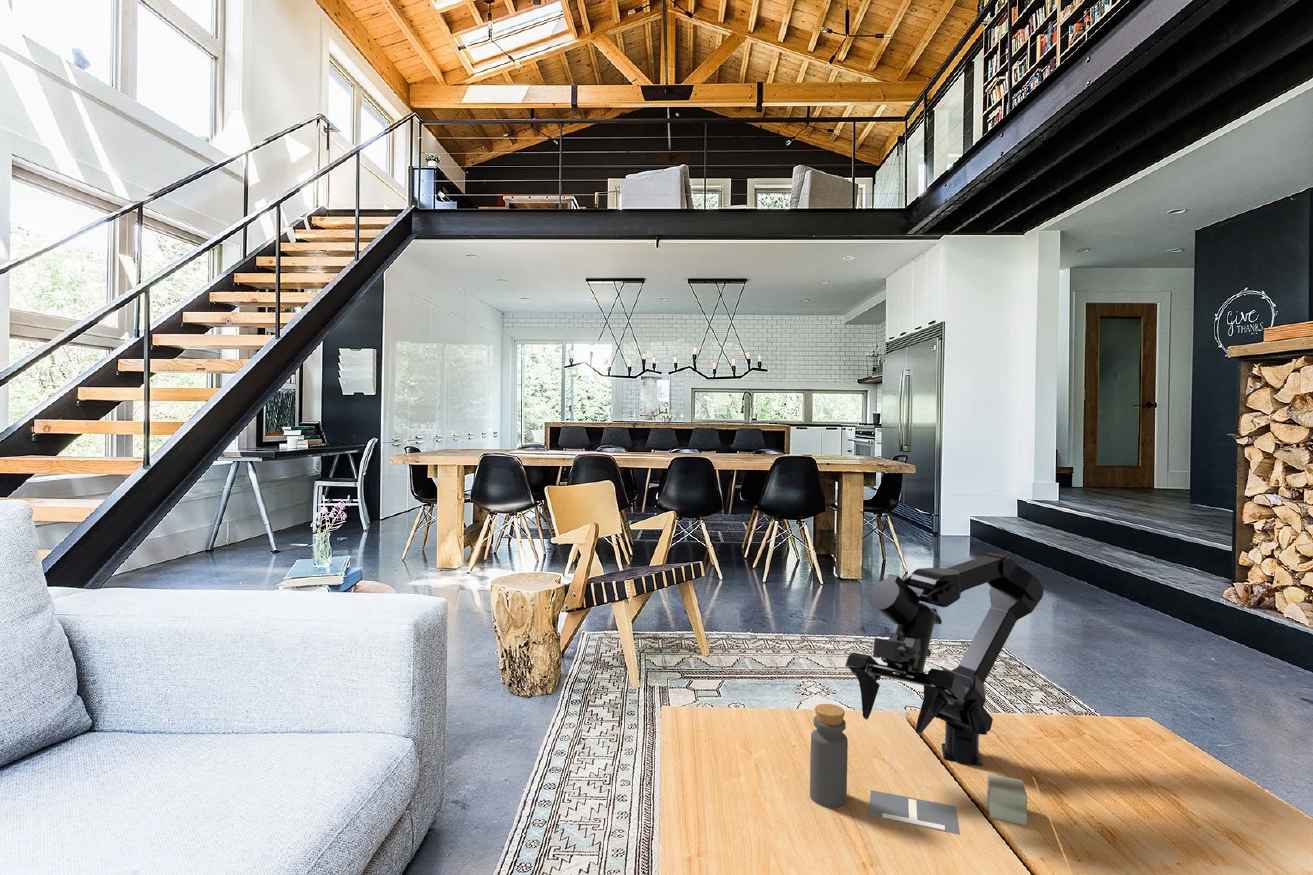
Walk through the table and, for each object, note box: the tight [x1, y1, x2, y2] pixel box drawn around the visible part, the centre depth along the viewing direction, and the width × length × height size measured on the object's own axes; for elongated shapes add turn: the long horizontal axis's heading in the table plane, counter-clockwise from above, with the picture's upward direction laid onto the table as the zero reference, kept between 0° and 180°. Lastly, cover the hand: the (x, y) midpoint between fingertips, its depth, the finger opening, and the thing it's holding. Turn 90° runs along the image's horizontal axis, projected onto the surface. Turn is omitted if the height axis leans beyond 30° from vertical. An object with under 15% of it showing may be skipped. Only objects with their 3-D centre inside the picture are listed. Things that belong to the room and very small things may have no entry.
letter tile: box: [868, 789, 961, 836], centre depth 106 cm, size 8×13×1 cm, turn 70°
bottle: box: [809, 703, 849, 809], centre depth 109 cm, size 6×6×15 cm
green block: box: [986, 773, 1028, 826], centre depth 106 cm, size 5×5×5 cm
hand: (890, 725), depth 109 cm, fingers open, 9 cm apart
